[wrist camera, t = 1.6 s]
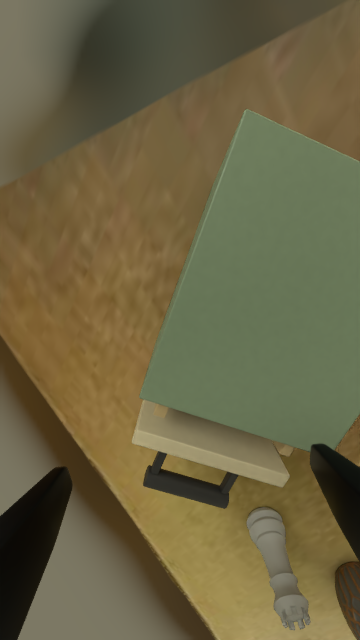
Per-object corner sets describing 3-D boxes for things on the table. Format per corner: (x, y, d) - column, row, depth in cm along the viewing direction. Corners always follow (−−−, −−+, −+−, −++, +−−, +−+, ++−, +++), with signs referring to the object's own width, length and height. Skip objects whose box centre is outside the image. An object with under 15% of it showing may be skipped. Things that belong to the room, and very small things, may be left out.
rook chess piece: (252, 534, 27) (280, 640, 20) (240, 511, 26) (264, 614, 19) (285, 524, 27) (327, 629, 19) (274, 500, 26) (314, 602, 18)
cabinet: (272, 383, 22) (329, 458, 13) (155, 343, 20) (138, 398, 12) (349, 241, 18) (495, 223, 10) (213, 183, 17) (245, 107, 9)
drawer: (231, 456, 23) (252, 534, 16) (131, 426, 22) (110, 496, 15) (318, 298, 18) (395, 318, 12) (197, 250, 17) (207, 243, 11)
